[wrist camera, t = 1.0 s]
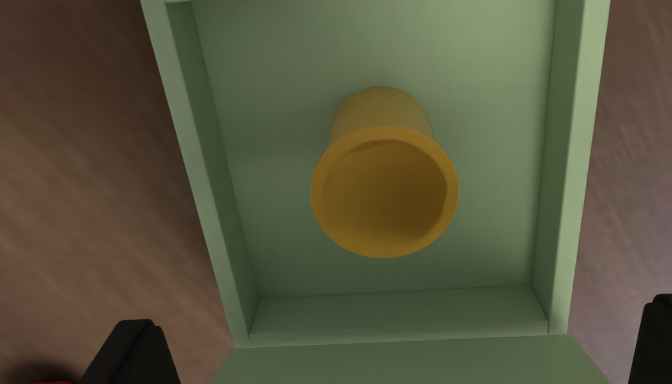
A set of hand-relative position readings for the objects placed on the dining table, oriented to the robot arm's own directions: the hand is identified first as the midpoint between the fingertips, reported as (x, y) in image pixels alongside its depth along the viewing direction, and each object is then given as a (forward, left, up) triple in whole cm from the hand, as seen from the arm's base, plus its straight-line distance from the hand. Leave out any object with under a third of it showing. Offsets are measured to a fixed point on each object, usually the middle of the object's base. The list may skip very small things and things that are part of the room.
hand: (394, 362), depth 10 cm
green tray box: (+1, 0, -13) cm, 13 cm away
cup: (0, 0, -12) cm, 12 cm away
